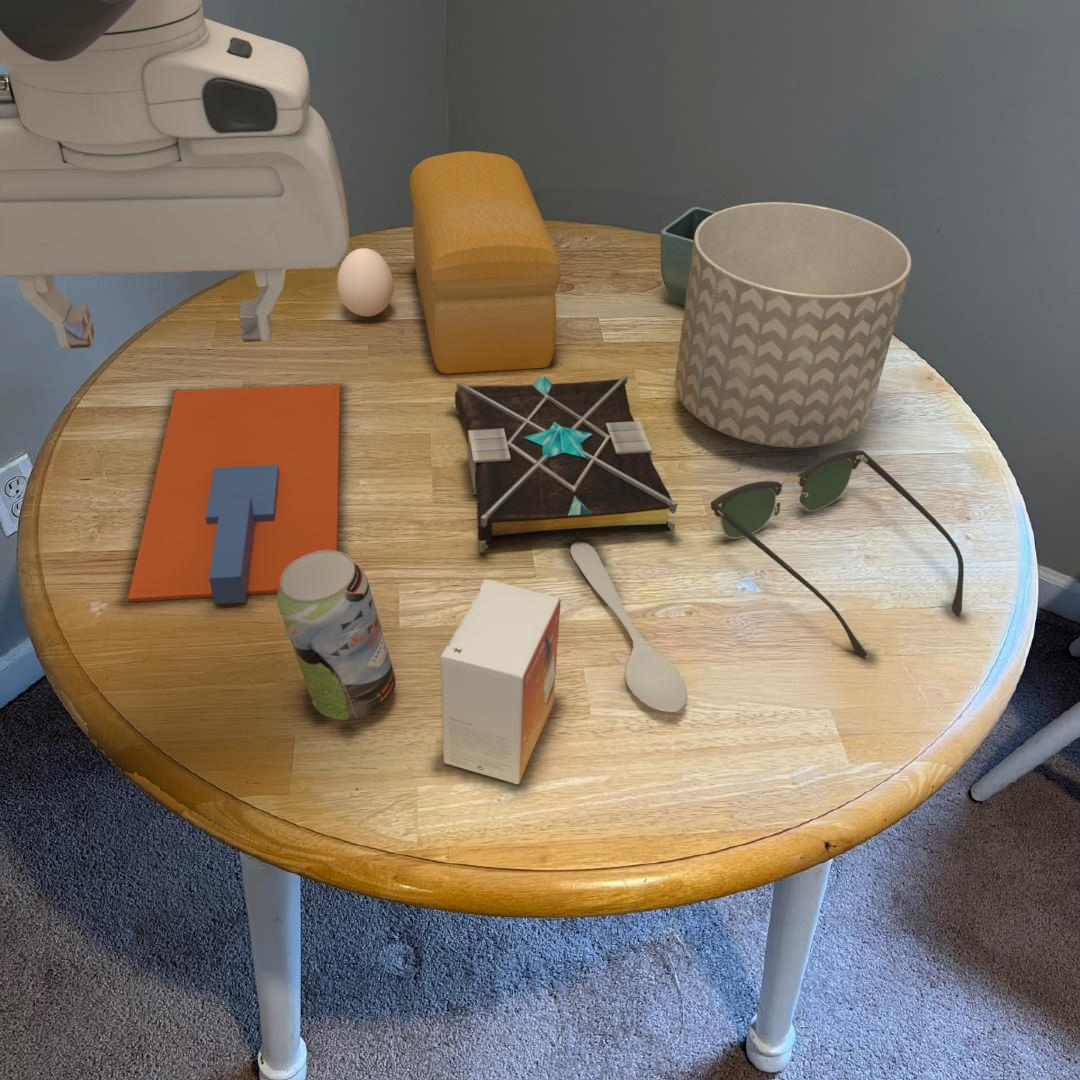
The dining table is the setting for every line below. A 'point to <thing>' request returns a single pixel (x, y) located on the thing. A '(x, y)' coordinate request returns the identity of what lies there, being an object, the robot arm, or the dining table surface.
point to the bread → (483, 264)
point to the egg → (365, 282)
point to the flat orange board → (236, 441)
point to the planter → (788, 322)
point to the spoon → (635, 642)
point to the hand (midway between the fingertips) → (169, 340)
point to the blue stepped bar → (237, 524)
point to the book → (559, 462)
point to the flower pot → (679, 252)
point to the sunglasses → (819, 488)
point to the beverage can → (336, 634)
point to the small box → (499, 680)
